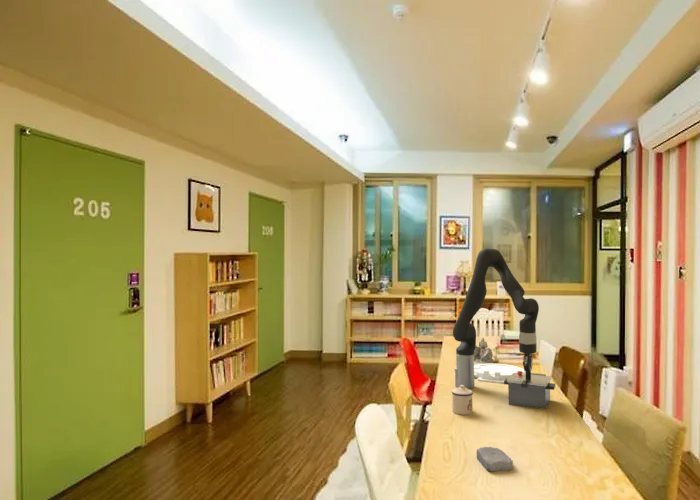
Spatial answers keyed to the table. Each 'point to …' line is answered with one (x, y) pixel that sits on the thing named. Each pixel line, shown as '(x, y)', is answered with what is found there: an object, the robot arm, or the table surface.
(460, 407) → the teacup with lid
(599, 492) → the table surface
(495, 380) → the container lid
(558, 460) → the table surface
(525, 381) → the pot lid
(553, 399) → the table surface
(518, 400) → the charcoal pot
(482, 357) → the stone figurine sculpture
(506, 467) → the stone block
